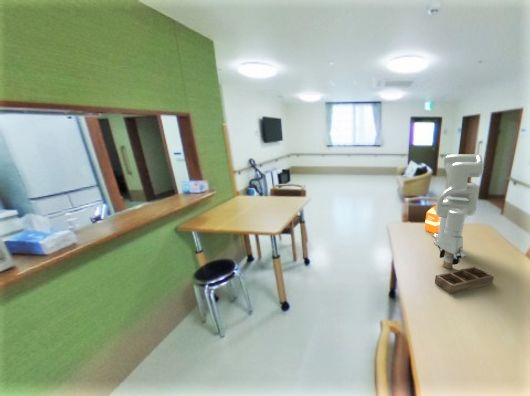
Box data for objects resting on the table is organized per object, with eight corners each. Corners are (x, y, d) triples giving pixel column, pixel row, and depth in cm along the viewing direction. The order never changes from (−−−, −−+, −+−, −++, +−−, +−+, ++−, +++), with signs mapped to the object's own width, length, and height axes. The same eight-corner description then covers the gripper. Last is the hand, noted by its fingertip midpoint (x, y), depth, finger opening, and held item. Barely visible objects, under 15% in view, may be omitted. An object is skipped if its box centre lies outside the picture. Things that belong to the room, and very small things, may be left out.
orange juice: (424, 229, 178) (427, 205, 173) (432, 227, 181) (435, 203, 175) (434, 233, 171) (438, 208, 166) (442, 230, 174) (446, 205, 168)
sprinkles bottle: (442, 266, 132) (445, 245, 128) (442, 263, 135) (446, 242, 131) (452, 269, 129) (456, 247, 125) (452, 265, 132) (456, 244, 128)
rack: (434, 282, 119) (435, 275, 118) (472, 273, 124) (474, 266, 123) (451, 294, 111) (453, 286, 109) (492, 283, 115) (493, 275, 114)
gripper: (433, 227, 133) (429, 254, 138) (464, 239, 117) (458, 270, 122) (443, 225, 135) (439, 252, 140) (475, 237, 118) (469, 267, 123)
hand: (448, 260), depth 131 cm, fingers open, 6 cm apart
